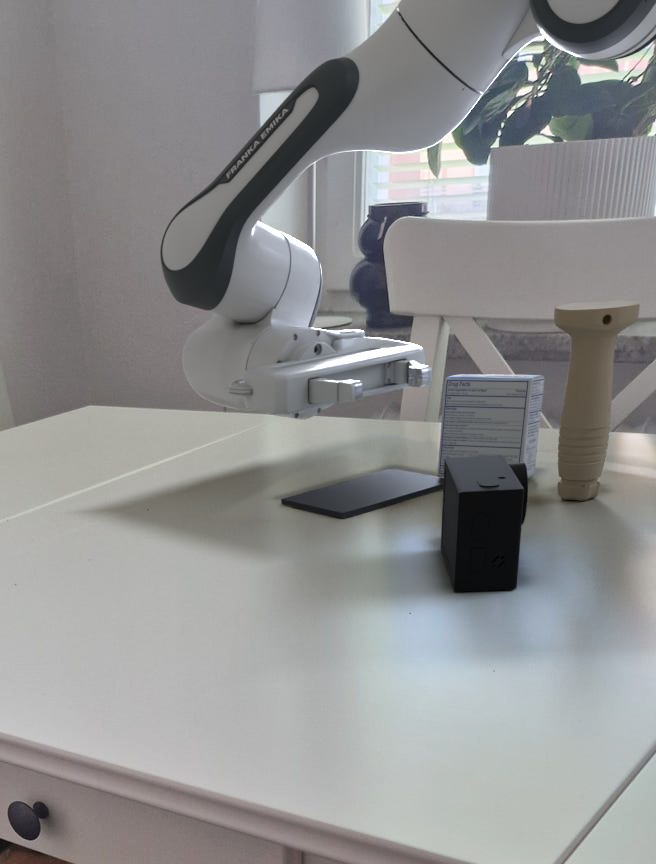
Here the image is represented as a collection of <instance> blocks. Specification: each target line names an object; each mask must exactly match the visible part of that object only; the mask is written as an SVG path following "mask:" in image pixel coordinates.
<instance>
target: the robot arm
mask: <svg viewBox="0 0 656 864" xmlns="http://www.w3.org/2000/svg"><path fill="white" fill-rule="evenodd" d="M544 38H545V39H546V41H548V42H549V43H550V44H551V45H552V46H554V47H556V48H557V49H558V50H561V51H564V52H566V53H568V54H570V55H573V56H575V57H577V58H581V59H585V60H590V61H613V60H614V61H615V60H622V59H624V58H628V57H631V56H633V55H636V54H637V53H639V52H641V51H643V50H644V49H646V48H647V47H648V46H650V45H651V44H652V43H653V42H654V41H655V40H656V0H399V2H398V3H397V6H395V7H394V10H393V11H392V12H391V14H389V16H388V17H387V18H386V19H385V20H384V22H382V24H381V25H380V26H379V27H378V28H377V29H376V30H375V31H374V32H373V33H372V34H371V35H370V36H369V37H368V38H367V39H365V40H364V41H363V42H362V43H361V44H360V45H358V46H356V47H355V48H354V49H352V50H351V51H349V52H348V53H346V54H345V55H343V56H341V57H337V58H332V59H331V58H330V59H329V60H326V61H325V62H323V63H321V64H320V65H318V66H316V68H314V69H313V70H312V71H311V72H310V73H309V74H308V75H307V76H306V77H304V79H303V80H302V81H301V82H300V83H299V84H298V85H297V86H296V87H295V88H294V89H293V90H292V91H291V93H290V94H289V95H288V96H287V97H286V98H285V99H284V100H283V101H282V103H280V104H279V106H278V107H277V108H276V109H275V110H274V111H273V113H272V114H271V115H270V116H269V117H268V118H267V120H265V121H264V122H263V124H262V125H261V126H260V127H259V128H258V129H257V131H256V132H255V133H254V134H253V136H251V138H249V140H248V141H247V142H246V143H245V144H244V146H243V147H242V148H241V149H240V150H239V151H238V152H237V153H236V155H235V156H233V158H232V159H231V160H230V162H229V163H228V164H227V165H226V166H225V167H224V168H223V170H222V171H221V172H220V173H219V174H218V175H217V176H216V177H215V178H214V180H212V181H211V182H210V183H209V184H208V185H207V186H206V187H205V188H203V190H201V191H200V192H199V193H198V194H196V195H195V196H194V197H192V198H191V199H190V200H189V201H188V202H187V203H185V204H184V205H183V206H182V207H181V208H180V209H179V210H178V211H177V212H176V214H175V215H174V216H173V217H172V219H171V220H170V221H169V223H168V225H167V227H166V228H165V231H164V233H163V236H162V238H161V244H160V250H159V251H160V253H159V254H160V255H159V256H160V264H161V270H162V273H163V277H164V280H165V281H164V282H165V283H166V285H167V288H168V289H169V292H170V294H171V295H172V297H173V298H174V299H175V300H176V302H178V303H180V304H181V305H185V306H189V307H192V308H196V309H199V310H203V311H208V312H209V311H210V312H211V313H213V314H212V316H211V317H210V318H209V319H208V320H207V321H206V322H205V323H204V324H202V325H200V326H199V327H197V328H196V329H195V330H193V331H192V332H191V333H190V334H189V335H188V337H187V339H186V340H185V343H184V345H183V349H182V355H181V356H182V357H181V361H182V368H183V372H184V375H185V378H186V380H187V383H188V384H189V385H190V387H191V388H192V389H193V391H194V392H195V393H196V394H197V395H198V396H200V397H201V398H203V399H204V400H206V401H209V402H210V403H212V404H214V405H217V406H221V407H224V408H229V409H232V410H233V409H234V410H239V411H244V412H250V411H257V412H260V413H263V414H265V415H269V416H275V417H281V418H282V417H283V418H288V419H294V420H308V419H311V418H313V417H315V416H317V415H318V414H319V413H321V412H322V411H323V410H326V409H328V408H330V407H333V405H335V404H340V403H341V404H348V405H349V404H352V403H356V402H360V401H362V399H363V398H367V397H370V396H375V395H380V394H384V393H389V392H393V391H398V390H402V389H406V388H410V387H412V388H422V387H427V386H430V385H431V384H432V382H433V368H432V366H430V365H425V363H426V362H425V361H426V359H425V358H426V354H425V350H424V348H423V347H422V346H420V345H418V344H415V343H411V342H406V341H401V340H394V339H390V338H383V337H372V336H371V337H370V336H366V332H365V331H364V330H361V329H337V330H327V329H322V328H316V327H313V326H314V324H315V321H316V319H317V315H318V312H319V308H320V303H321V299H322V293H323V271H322V266H321V262H320V259H319V257H318V254H317V253H316V251H315V250H314V248H312V247H311V246H310V245H307V244H305V243H304V242H302V241H300V240H299V239H296V238H295V237H292V236H291V235H289V234H287V233H285V232H283V231H281V230H278V229H276V228H273V227H272V226H269V225H267V224H265V223H263V222H261V221H260V220H261V219H262V217H264V215H265V214H266V213H267V212H268V211H269V210H270V209H271V208H272V206H274V204H275V203H276V202H278V200H279V199H280V198H281V197H282V196H283V195H284V194H285V192H286V191H288V189H289V188H290V187H291V186H292V185H293V184H294V183H295V182H296V181H297V180H298V178H299V177H301V176H302V175H303V173H304V172H305V171H306V170H307V169H309V167H311V166H312V165H313V164H315V163H316V162H318V161H320V160H321V159H323V158H327V157H328V156H332V155H335V154H339V153H340V154H341V153H346V152H359V151H360V152H361V151H363V152H364V151H367V152H368V151H372V152H382V153H391V154H405V153H406V154H407V153H414V152H420V151H422V150H423V151H424V150H426V149H429V148H431V147H433V146H436V145H437V144H439V143H440V142H441V141H443V139H445V138H446V137H447V136H449V135H450V134H451V133H452V132H453V131H454V130H455V129H456V128H457V127H458V126H459V125H461V123H462V122H463V121H464V119H465V118H466V117H467V116H468V115H469V114H470V112H471V110H473V108H474V107H475V105H476V104H477V103H478V101H479V100H480V99H481V98H482V96H483V95H484V94H485V92H486V91H487V90H488V89H489V87H490V86H491V85H492V84H493V83H494V81H496V79H497V77H498V76H499V74H500V73H501V72H502V71H503V69H505V67H506V66H507V65H508V63H510V61H511V60H512V59H513V58H514V57H515V56H516V55H517V54H518V53H519V52H520V51H521V50H522V49H523V48H524V47H526V46H528V45H529V44H531V43H532V42H534V41H536V40H539V39H544Z"/></svg>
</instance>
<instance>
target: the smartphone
mask: <svg viewBox="0 0 656 864" xmlns="http://www.w3.org/2000/svg"><path fill="white" fill-rule="evenodd" d="M443 480H444V477H439V476H434V475H428V474H424V473H418V472H414V471H407V470H403V469H397V468H392V467H391V468H388V469H384V470H380V471H377V472H374V473H370V474H369V473H368V474H366V475H363V476H359V477H355V478H352V479H348V480H345V481H341V482H337V483H333V484H329V485H326V486H323V487H319V488H315V489H312V490H308V491H305V492H301V493H297V494H293V495H289V496H287V497H282V498H281V499H280V502H281V503H280V504H281V505H284V506H287V507H292V508H297V509H301V510H303V511H304V510H305V511H308V512H312V513H313V512H314V513H317V514H320V515H321V514H322V515H326V516H330V517H334V518H339V519H341V520H342V519H343V520H344V519H347V518H351V517H353V516H357V515H360V514H364V513H367V512H370V511H374V510H377V509H380V508H381V509H382V508H384V507H387V506H390V505H394V504H397V503H401V502H405V501H407V500H411V499H414V498H418V497H421V496H424V495H428V494H431V493H434V492H439V491H441V490H443Z"/></svg>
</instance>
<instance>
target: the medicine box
mask: <svg viewBox="0 0 656 864" xmlns="http://www.w3.org/2000/svg"><path fill="white" fill-rule="evenodd" d="M545 380H546V379H545V376H544V375H542V374H504V373H503V374H496V373H495V374H492V373H491V374H490V373H488V374H485V373H484V374H483V373H482V374H481V373H479V374H465V373H464V374H463V373H461V374H453V375H449V376H447V377H445V378H444V383H443V398H442V412H441V424H440V437H439V438H440V439H439V450H438V451H439V452H438V464H437V472H436V473H437V474H436V475H437V477H440V478H444V459H445V458H448V457H470V456H490V455H503V456H504V458H505V459H506V461H507V462H508V463H523V462H524V463H525V464H526V468H527V476H528V479H529V478H531V477H532V476H534V475H535V474H536V466H537V457H538V456H537V455H538V447H539V446H538V445H539V436H540V426H541V415H542V407H543V399H544V398H543V397H544V388H545Z"/></svg>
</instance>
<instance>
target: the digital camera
mask: <svg viewBox="0 0 656 864" xmlns="http://www.w3.org/2000/svg"><path fill="white" fill-rule="evenodd" d="M443 478H444V480H443V489H442V504H441V505H442V507H441V528H440V529H441V531H440V552H441V555H442V559H443V561H444V564H445V567H446V571H447V573H448V578H449V580H450V583H451V586H452V590H453V592H455V593H459V592H483V591H485V592H487V591H509V590H510V591H511V590H516V589H517V587H518V576H519V565H520V551H521V539H522V526H524V523H525V519H526V515H527V507H528V497H529V478H528V476H527V468H526V464H525V463H524V462H523V463H508V462H507V461H506V459H505V458H504V456H503V455H490V456H470V457H448V458H445V459H444V477H443Z"/></svg>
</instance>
